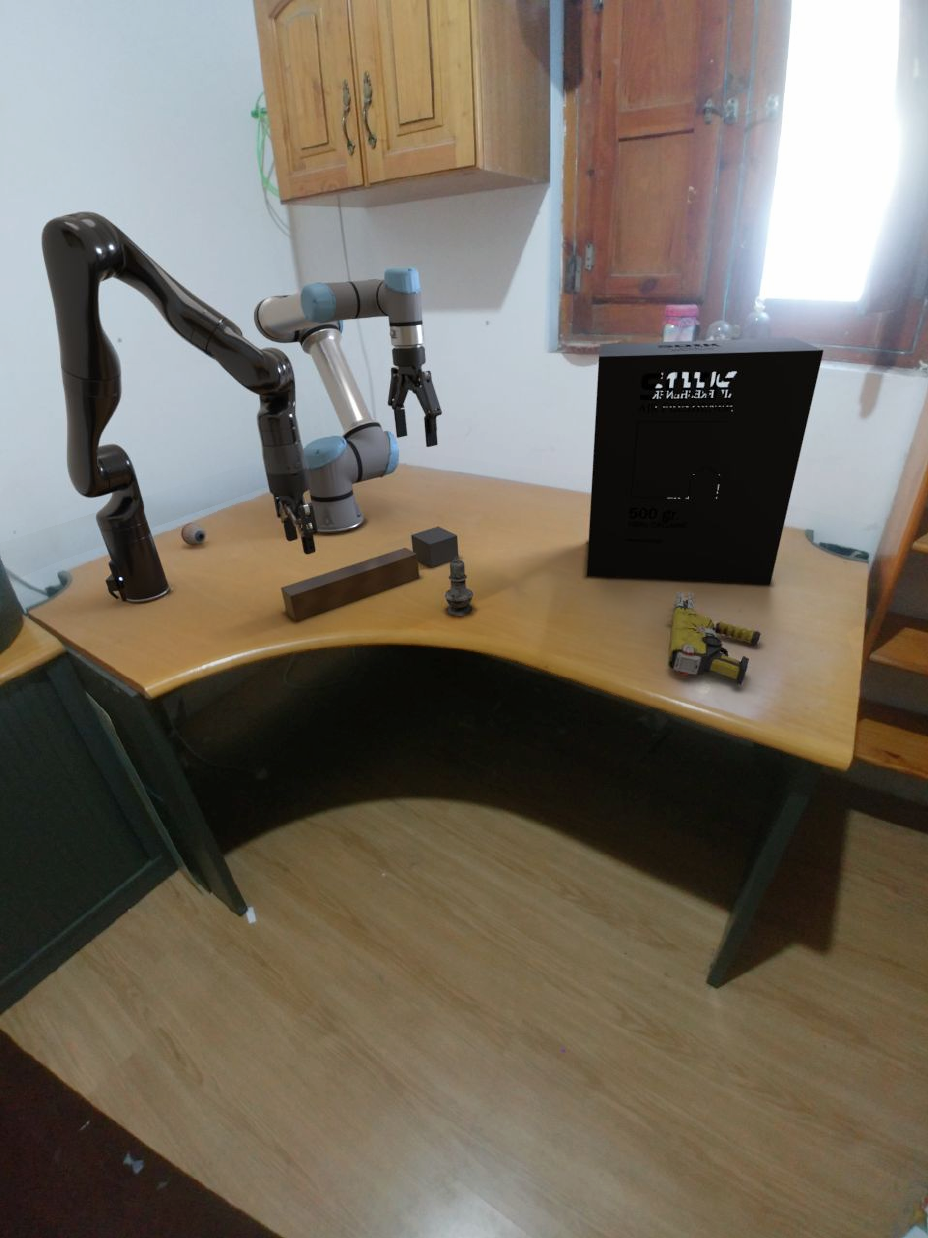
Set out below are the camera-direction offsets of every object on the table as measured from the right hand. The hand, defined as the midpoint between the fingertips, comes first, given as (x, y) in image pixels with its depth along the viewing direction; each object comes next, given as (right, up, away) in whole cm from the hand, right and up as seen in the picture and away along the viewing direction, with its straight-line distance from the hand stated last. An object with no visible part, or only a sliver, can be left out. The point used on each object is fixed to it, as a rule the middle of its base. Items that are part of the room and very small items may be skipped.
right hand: (416, 441), depth 147 cm
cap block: (+5, -29, -1) cm, 29 cm away
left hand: (-21, -29, -27) cm, 45 cm away
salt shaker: (+11, -42, -24) cm, 49 cm away
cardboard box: (+59, -30, -9) cm, 67 cm away
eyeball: (-60, -24, +15) cm, 66 cm away
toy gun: (+56, -48, -40) cm, 84 cm away
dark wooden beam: (-12, -38, -15) cm, 43 cm away
